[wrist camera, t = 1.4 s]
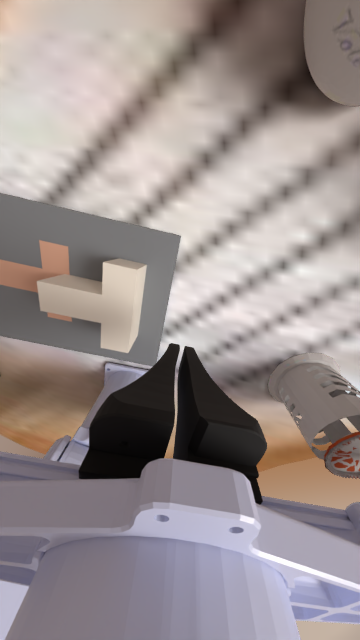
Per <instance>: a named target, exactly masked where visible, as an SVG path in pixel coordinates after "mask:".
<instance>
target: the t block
mask: <svg viewBox="0 0 360 640" xmlns="http://www.w3.org/2000/svg"><path fill="white" fill-rule="evenodd" d="M146 268H147V264H142V263H138V262H133V261H129V260H125V259H120V258H119V259H114V260H110V261H105V262H103V277H102V282H100V281H95V280H91V279H86V278H82V277H77V276H72V275H68V274H62V275H58V276H54V277H50V278H46V279H42V280H38V281H37V288H38V295H39V303H40V311H44V312H49V313H54V314H59V315H64V316H69V317H74V318H78V319H83V320H88V321H93V322H98V323H101V348H104V349H109V350H114V351H119V352H124V353H129V351H130V349H131V347H132V345H133V343H134V341H135V340H136V338H137V336H138V330H139V322H140V314H141V307H142V299H143V291H144V283H145V276H146Z"/></svg>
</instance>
